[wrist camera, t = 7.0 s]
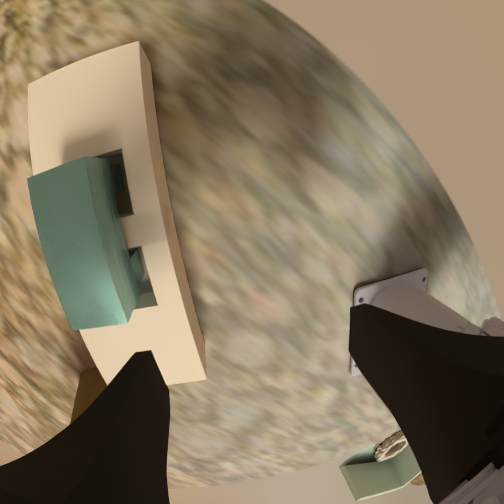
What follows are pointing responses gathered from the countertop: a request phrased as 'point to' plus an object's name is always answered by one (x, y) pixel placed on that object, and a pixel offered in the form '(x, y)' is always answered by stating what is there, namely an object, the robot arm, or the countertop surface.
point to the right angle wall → (380, 468)
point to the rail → (124, 200)
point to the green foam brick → (86, 241)
